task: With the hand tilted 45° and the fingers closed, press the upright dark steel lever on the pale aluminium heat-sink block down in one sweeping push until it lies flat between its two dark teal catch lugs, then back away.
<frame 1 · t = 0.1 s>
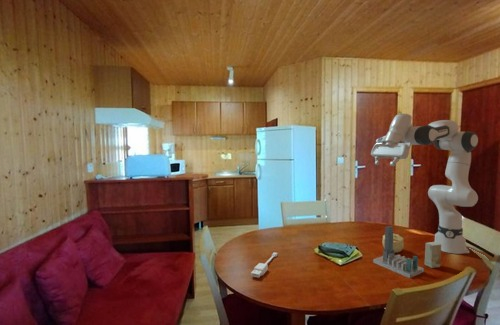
hand: (383, 165, 138), 54 cm above the table, tool tilted 30°, fingers open, 8 cm apart
heat sink block: (388, 263, 145), on the table
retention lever: (389, 240, 145), point 13 cm above the table, hinge at 0.0°
skincare box: (432, 266, 142), on the table
sculpture: (392, 250, 163), on the table
charging cable: (266, 266, 146), on the table
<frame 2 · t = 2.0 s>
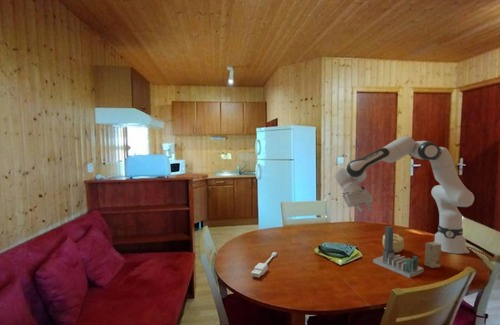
hand: (366, 210, 156), 26 cm above the table, tool tilted 45°, fingers open, 6 cm apart
nothing on the table moved.
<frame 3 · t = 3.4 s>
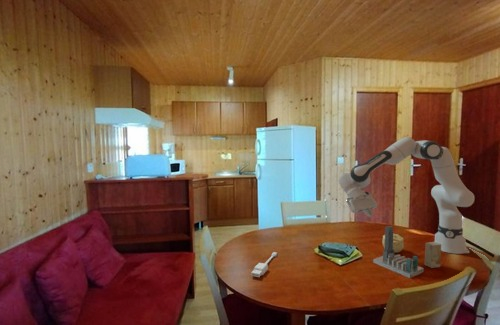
hand: (370, 216, 154), 24 cm above the table, tool tilted 45°, fingers closed
nothing on the table moved.
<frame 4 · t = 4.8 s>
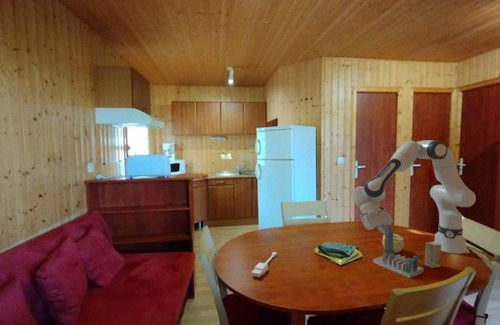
hand: (386, 233, 146), 16 cm above the table, tool tilted 45°, fingers closed, pressing on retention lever
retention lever: (389, 240, 145), point 13 cm above the table, hinge at 0.3°, touching gripper
everything else where it was.
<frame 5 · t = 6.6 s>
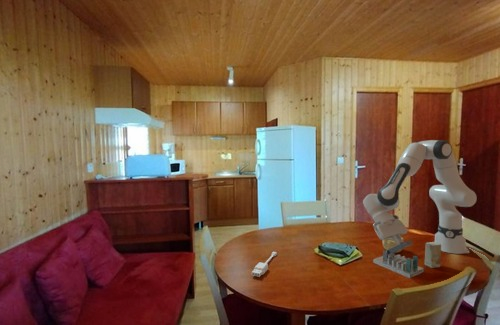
hand: (400, 243, 139), 13 cm above the table, tool tilted 45°, fingers closed, pressing on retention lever
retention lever: (398, 247, 140), point 11 cm above the table, hinge at 51.7°, touching gripper
everything else where it was.
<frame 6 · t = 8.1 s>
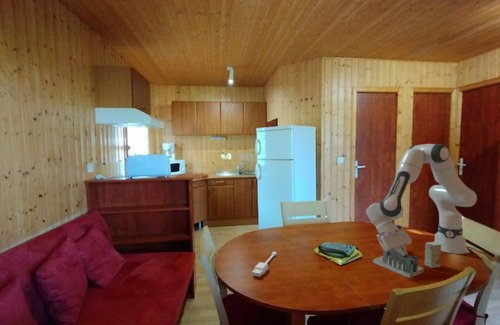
hand: (405, 255, 137), 8 cm above the table, tool tilted 45°, fingers closed, pressing on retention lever
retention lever: (400, 256, 139), point 6 cm above the table, hinge at 90.3°, touching gripper
everything else where it was.
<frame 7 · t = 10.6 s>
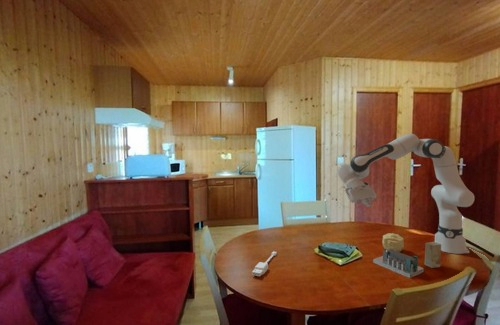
hand: (369, 206, 154), 29 cm above the table, tool tilted 45°, fingers closed
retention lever: (400, 256, 139), point 6 cm above the table, hinge at 90.3°
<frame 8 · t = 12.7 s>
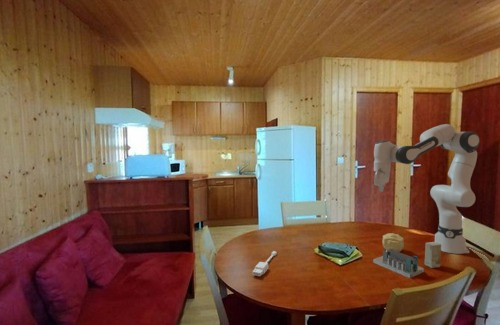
hand: (381, 191, 157), 37 cm above the table, tool pointing down, fingers closed
at the end: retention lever at +90° (first picture: +0°); skincare box moved 0.2 cm from its start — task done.
